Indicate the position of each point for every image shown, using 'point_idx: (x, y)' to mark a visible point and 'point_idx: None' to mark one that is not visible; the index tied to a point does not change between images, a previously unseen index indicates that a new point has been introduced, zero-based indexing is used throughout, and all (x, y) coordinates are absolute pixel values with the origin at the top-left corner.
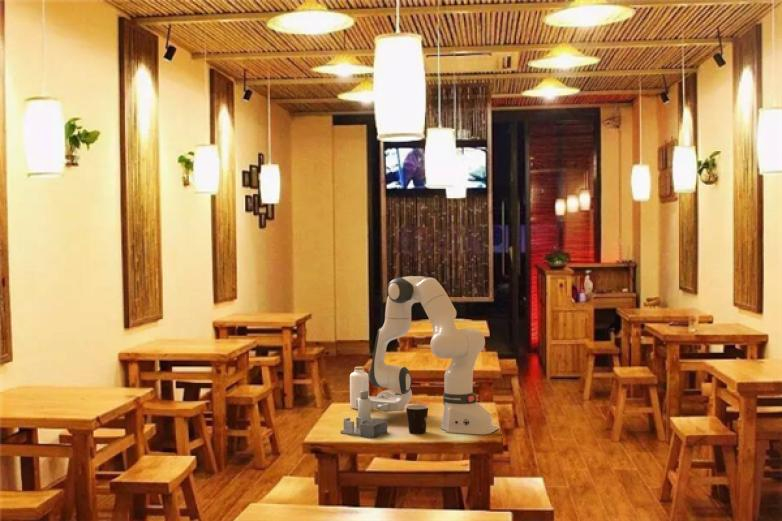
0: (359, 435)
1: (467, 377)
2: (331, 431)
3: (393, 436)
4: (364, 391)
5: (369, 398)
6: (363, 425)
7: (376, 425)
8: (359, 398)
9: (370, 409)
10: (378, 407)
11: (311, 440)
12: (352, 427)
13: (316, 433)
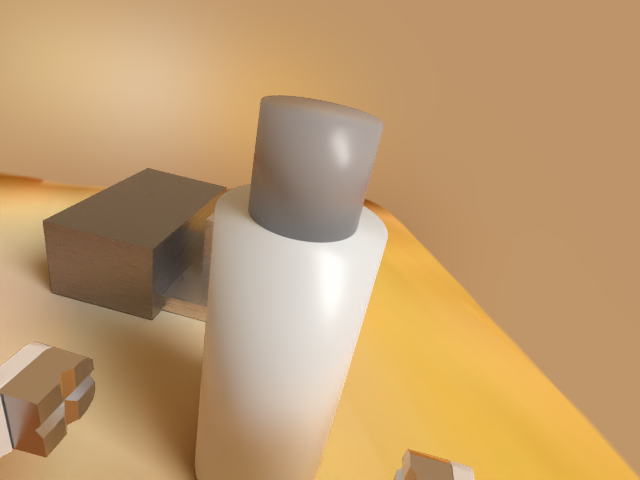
0: None
1: None
2: (409, 305)
3: (27, 239)
4: (310, 105)
5: (232, 218)
6: (207, 185)
7: (132, 176)
8: (370, 225)
9: (205, 326)
10: (85, 370)
11: (391, 215)
12: None
13: (448, 277)
